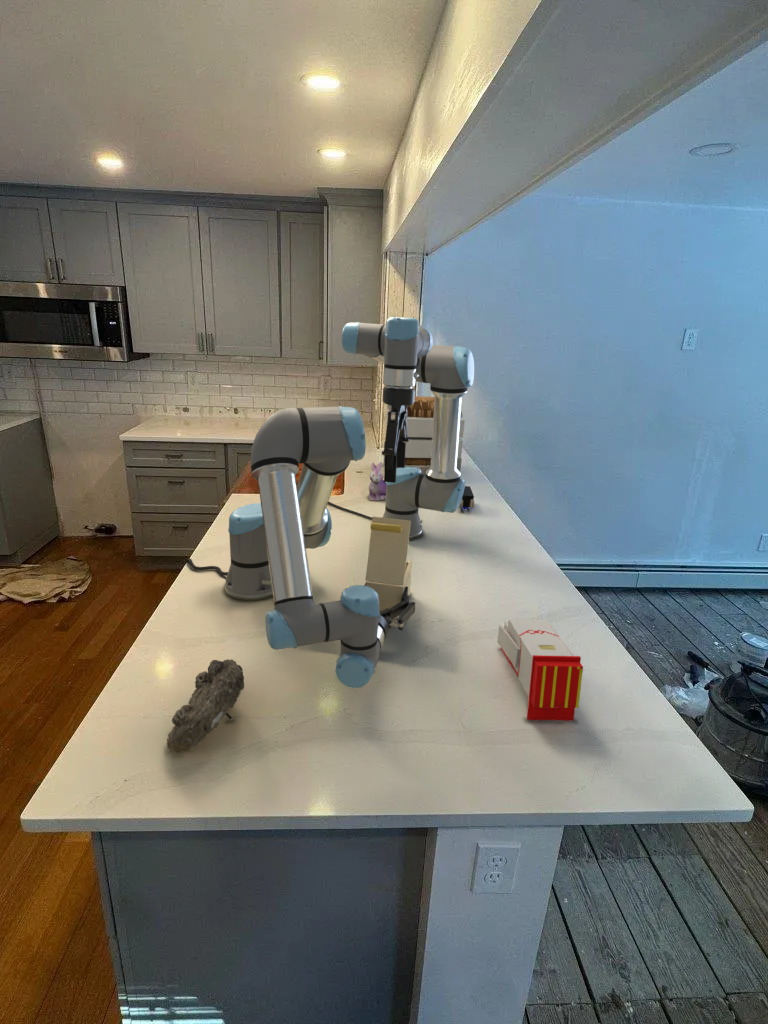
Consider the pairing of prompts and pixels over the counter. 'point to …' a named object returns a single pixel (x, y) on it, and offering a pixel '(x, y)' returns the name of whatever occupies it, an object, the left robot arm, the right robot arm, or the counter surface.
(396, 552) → the lid
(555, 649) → the toy
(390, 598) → the chest
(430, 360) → the right robot arm
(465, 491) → the figurine character
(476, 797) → the counter surface
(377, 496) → the figurine
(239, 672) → the fossil
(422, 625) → the counter surface
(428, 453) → the transformer
